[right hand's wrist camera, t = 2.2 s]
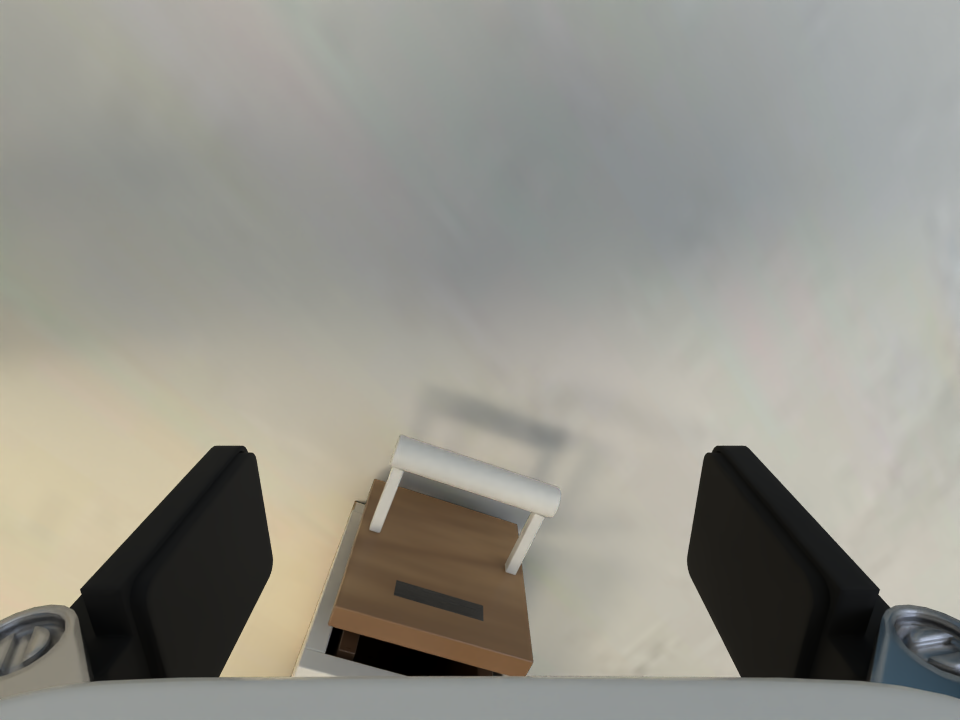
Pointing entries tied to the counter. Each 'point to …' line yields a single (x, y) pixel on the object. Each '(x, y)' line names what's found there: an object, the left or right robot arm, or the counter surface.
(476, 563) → the drawer
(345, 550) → the cabinet
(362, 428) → the counter surface
